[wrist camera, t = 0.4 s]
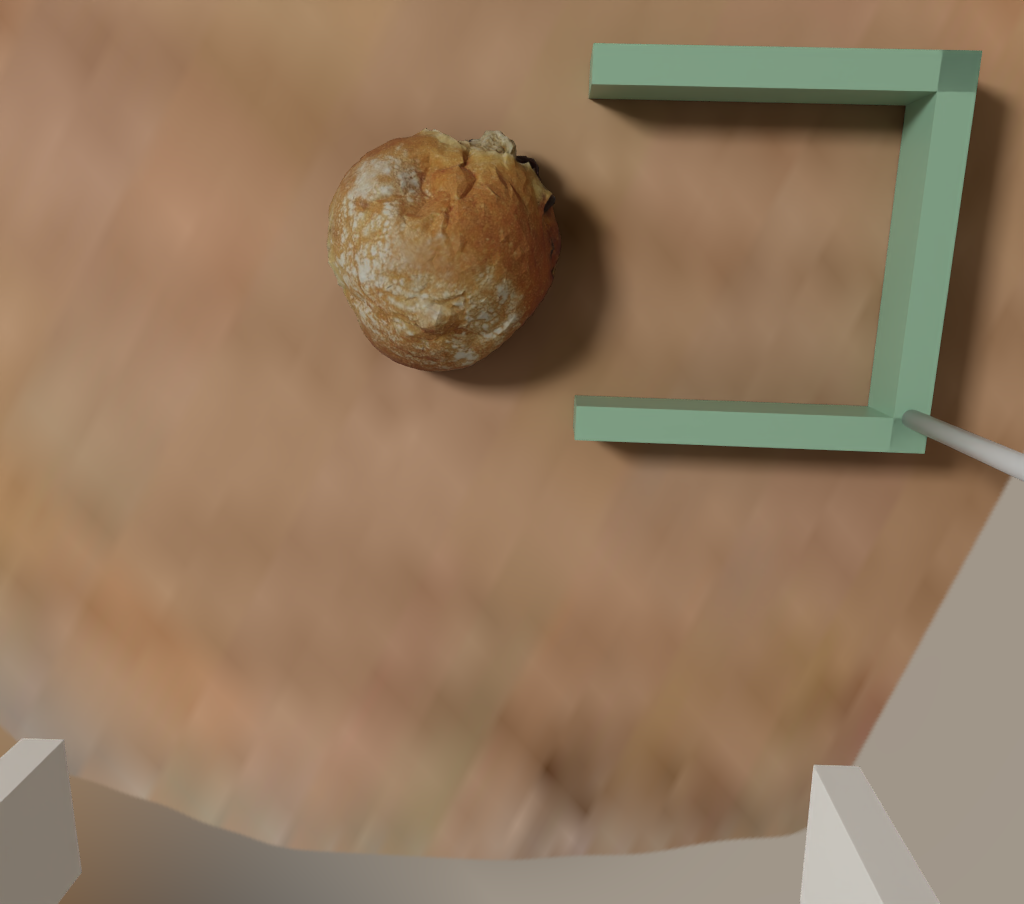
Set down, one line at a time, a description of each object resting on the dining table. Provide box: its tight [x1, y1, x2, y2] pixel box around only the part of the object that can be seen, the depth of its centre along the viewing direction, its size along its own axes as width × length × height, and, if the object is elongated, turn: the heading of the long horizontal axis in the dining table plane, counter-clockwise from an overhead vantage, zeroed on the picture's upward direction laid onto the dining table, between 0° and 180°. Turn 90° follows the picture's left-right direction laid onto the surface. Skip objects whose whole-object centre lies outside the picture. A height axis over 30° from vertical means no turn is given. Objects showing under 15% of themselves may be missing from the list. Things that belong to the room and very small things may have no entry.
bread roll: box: [327, 128, 561, 371], centre depth 36 cm, size 10×10×8 cm
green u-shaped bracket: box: [573, 43, 1024, 481], centre depth 29 cm, size 16×15×17 cm
